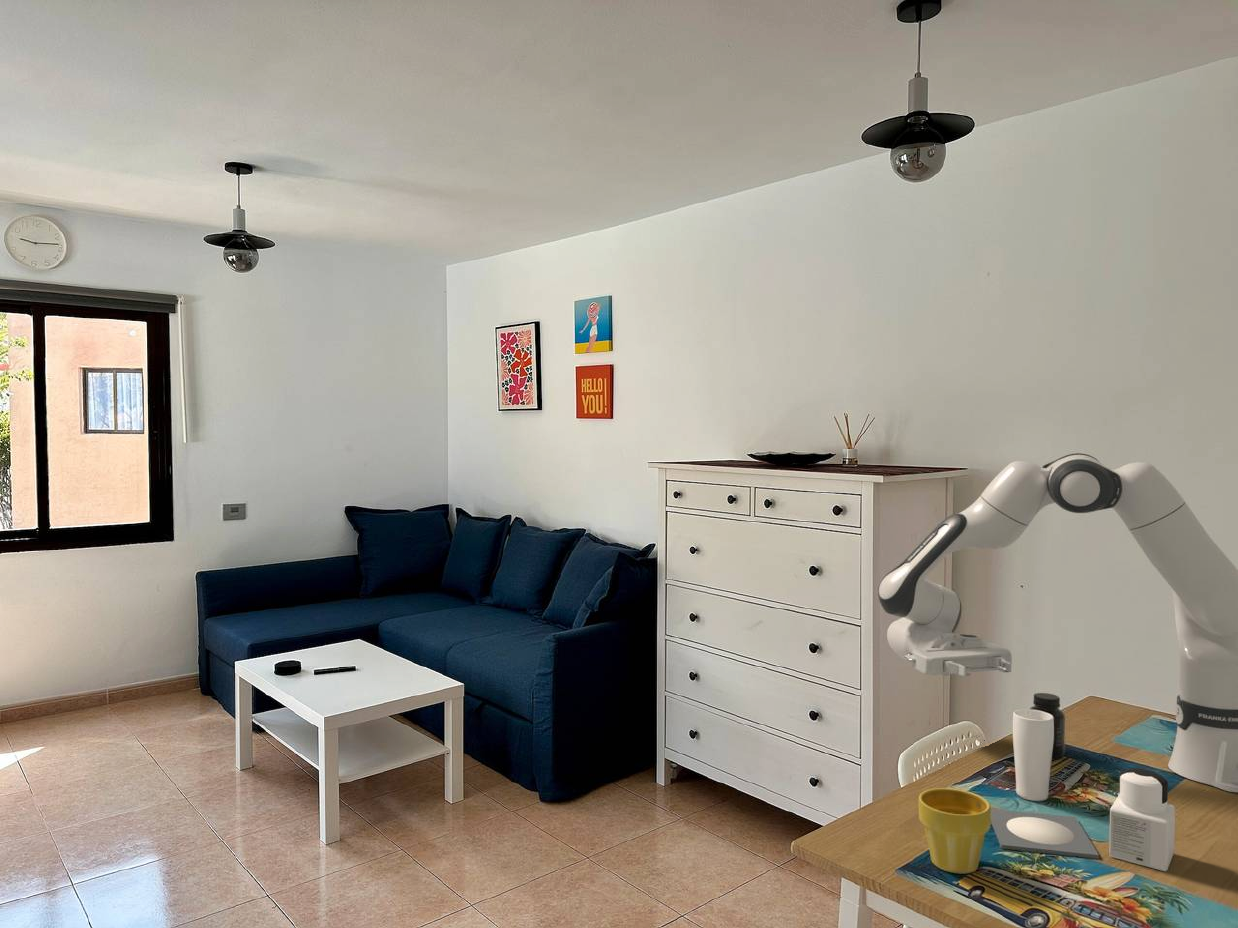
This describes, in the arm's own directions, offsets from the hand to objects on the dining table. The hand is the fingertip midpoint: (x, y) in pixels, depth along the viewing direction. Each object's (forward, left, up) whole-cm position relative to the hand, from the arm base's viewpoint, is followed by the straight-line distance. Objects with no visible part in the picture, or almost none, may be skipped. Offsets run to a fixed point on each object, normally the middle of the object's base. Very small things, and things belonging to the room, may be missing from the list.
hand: (988, 669), depth 170 cm
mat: (-4, +27, -20) cm, 33 cm away
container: (-18, +31, -20) cm, 41 cm away
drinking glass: (-6, +11, -20) cm, 24 cm away
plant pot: (+11, +41, -20) cm, 47 cm away
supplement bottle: (-13, -13, -20) cm, 28 cm away
